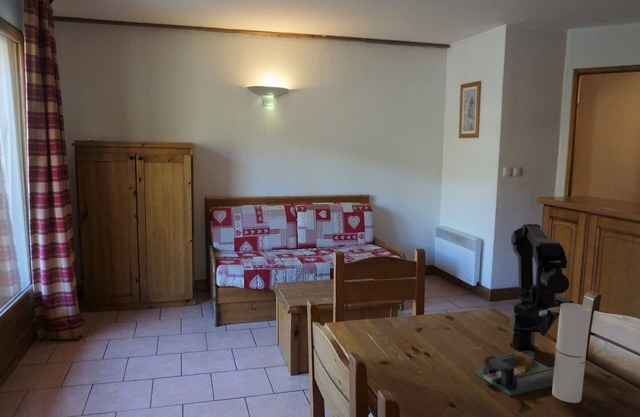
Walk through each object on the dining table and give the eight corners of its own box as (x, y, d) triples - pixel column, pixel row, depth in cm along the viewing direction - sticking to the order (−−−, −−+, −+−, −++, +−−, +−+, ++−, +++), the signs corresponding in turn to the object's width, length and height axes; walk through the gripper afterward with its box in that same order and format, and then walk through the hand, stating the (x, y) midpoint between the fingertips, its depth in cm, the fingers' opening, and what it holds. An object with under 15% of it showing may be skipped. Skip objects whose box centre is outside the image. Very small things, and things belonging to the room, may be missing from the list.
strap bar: (519, 369, 146) (520, 351, 145) (531, 375, 142) (532, 357, 141) (482, 377, 140) (483, 359, 140) (493, 383, 136) (494, 365, 136)
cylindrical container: (546, 389, 136) (555, 302, 133) (571, 389, 136) (580, 303, 134) (561, 402, 129) (570, 311, 126) (587, 402, 129) (596, 311, 126)
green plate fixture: (530, 362, 154) (531, 343, 153) (568, 381, 141) (569, 361, 140) (474, 374, 146) (475, 354, 145) (509, 395, 133) (510, 374, 132)
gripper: (547, 274, 154) (544, 322, 156) (501, 280, 147) (498, 330, 149) (578, 283, 144) (574, 334, 146) (530, 290, 137) (527, 343, 139)
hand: (542, 335), depth 145 cm, fingers closed
